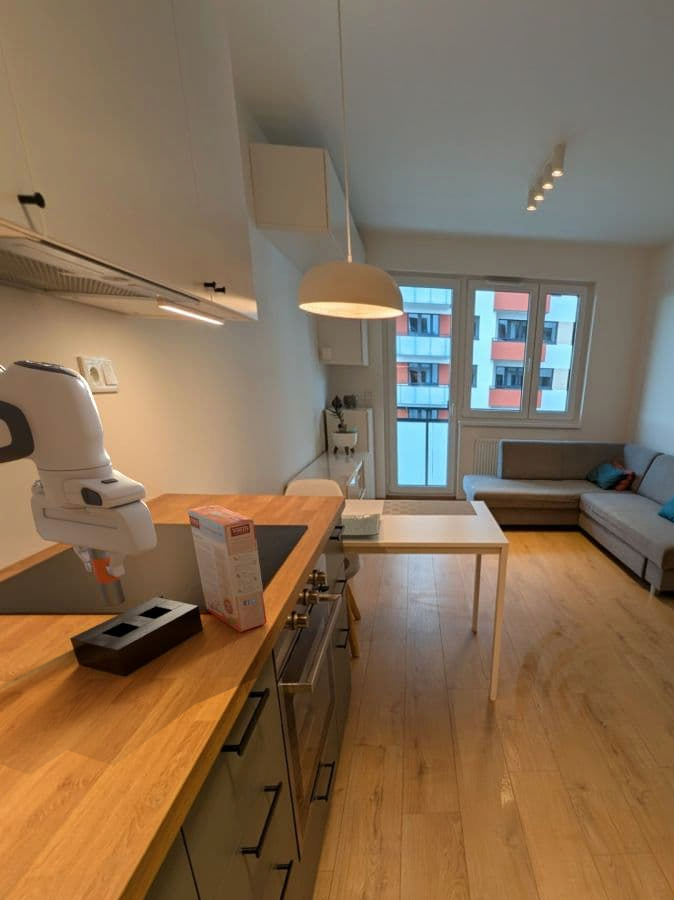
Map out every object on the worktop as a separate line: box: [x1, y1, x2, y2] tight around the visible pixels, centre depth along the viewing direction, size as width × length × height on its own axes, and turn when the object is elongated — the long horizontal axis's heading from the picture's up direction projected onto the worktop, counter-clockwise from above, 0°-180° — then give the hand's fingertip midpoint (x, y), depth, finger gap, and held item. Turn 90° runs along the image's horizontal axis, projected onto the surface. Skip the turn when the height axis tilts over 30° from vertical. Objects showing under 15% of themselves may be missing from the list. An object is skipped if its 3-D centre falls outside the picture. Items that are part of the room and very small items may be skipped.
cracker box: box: [187, 504, 268, 633], centre depth 95 cm, size 14×6×21 cm, turn 48°
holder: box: [69, 596, 204, 678], centre depth 88 cm, size 10×17×5 cm, turn 162°
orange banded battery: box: [87, 548, 126, 607], centre depth 79 cm, size 3×3×14 cm
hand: (106, 573), depth 79 cm, fingers closed on orange banded battery, 3 cm apart
